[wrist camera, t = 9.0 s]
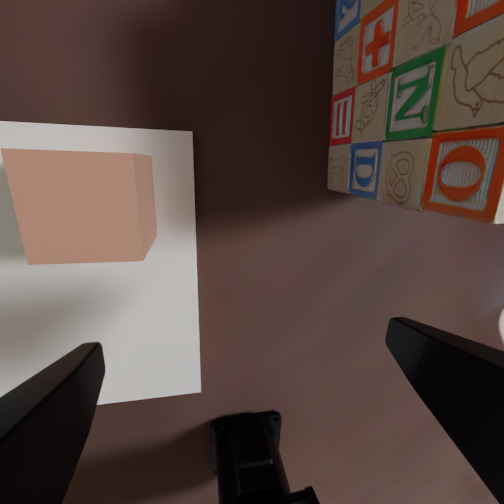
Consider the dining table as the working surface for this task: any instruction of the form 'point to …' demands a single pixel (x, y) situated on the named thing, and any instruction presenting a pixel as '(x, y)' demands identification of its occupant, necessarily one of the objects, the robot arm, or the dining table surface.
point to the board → (107, 278)
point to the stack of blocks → (420, 105)
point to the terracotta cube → (82, 205)
